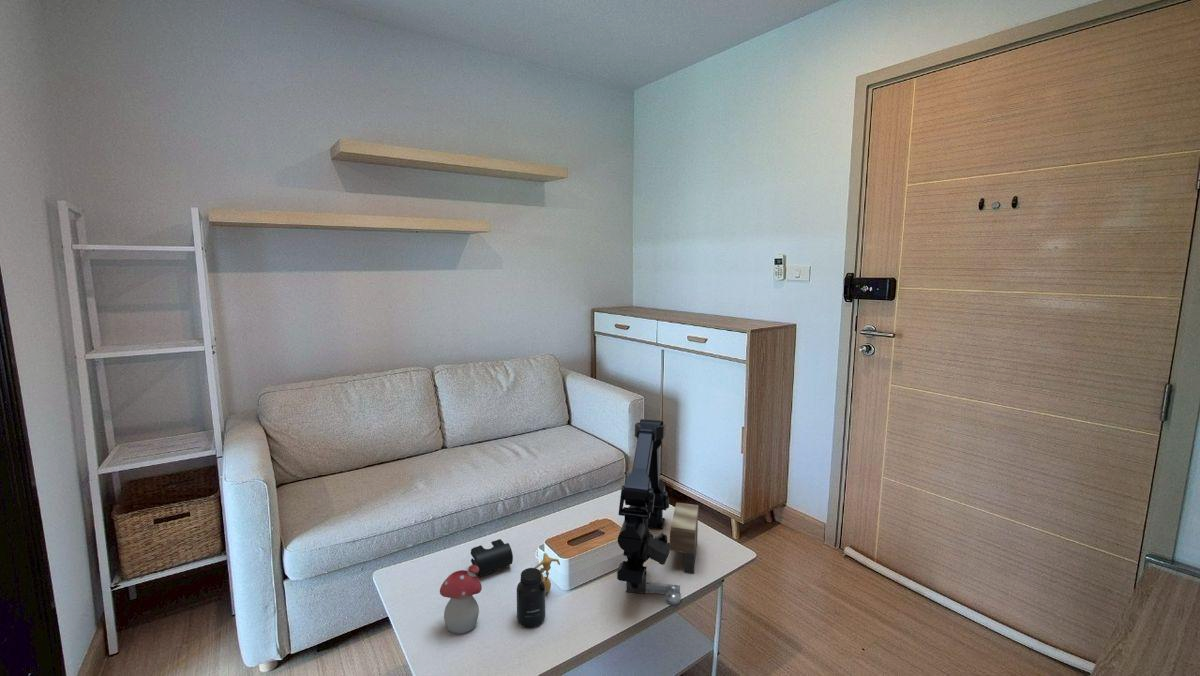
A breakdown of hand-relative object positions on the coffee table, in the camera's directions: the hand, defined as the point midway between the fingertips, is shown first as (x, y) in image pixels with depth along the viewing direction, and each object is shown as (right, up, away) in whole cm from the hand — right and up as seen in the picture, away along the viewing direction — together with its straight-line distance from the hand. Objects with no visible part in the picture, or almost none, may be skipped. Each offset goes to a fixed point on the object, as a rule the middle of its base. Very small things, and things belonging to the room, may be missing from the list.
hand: (636, 585), depth 130 cm
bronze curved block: (+15, +1, +15) cm, 21 cm away
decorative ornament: (-42, -4, -11) cm, 44 cm away
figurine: (-24, -2, -1) cm, 24 cm away
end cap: (-40, -1, +9) cm, 41 cm away
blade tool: (+4, -2, 0) cm, 5 cm away
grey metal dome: (+9, -2, -3) cm, 10 cm away
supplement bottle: (-26, -4, -9) cm, 28 cm away
